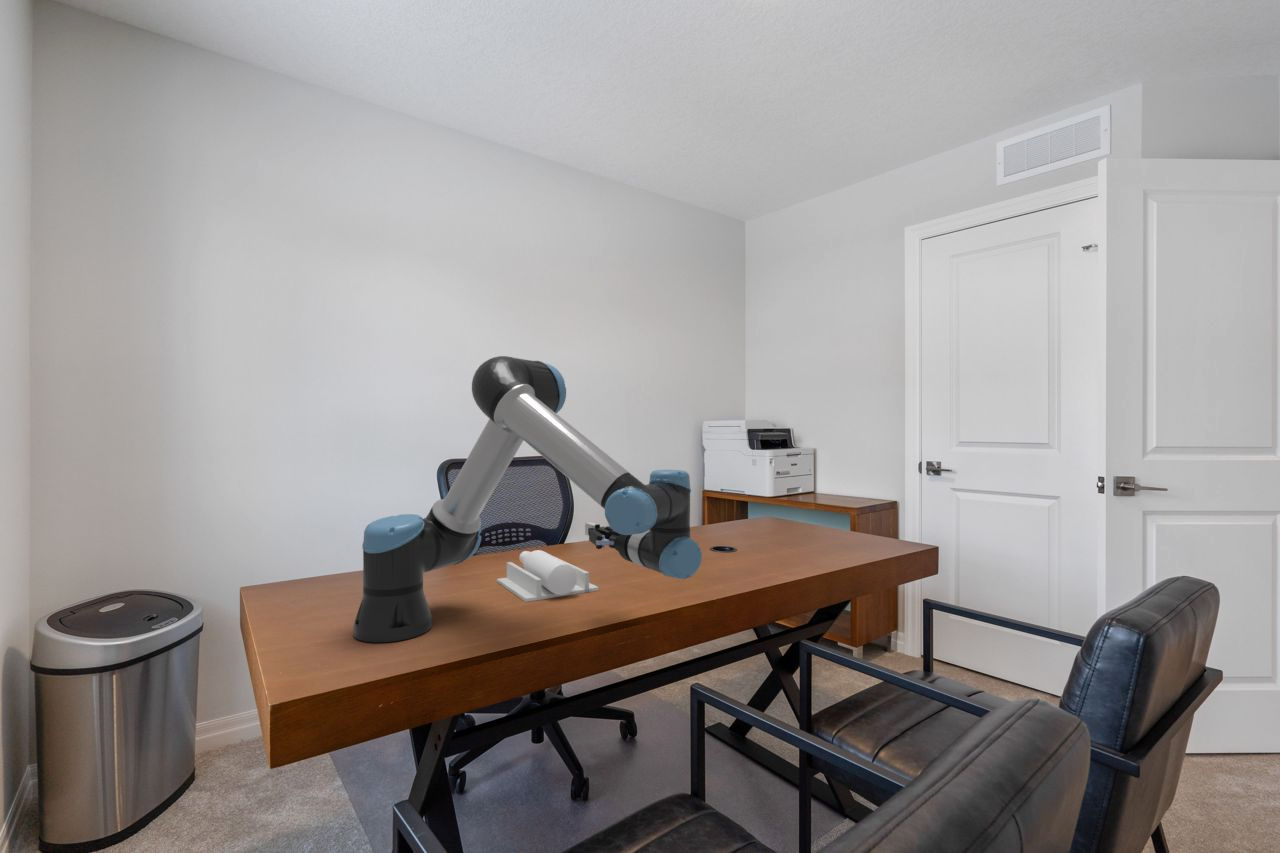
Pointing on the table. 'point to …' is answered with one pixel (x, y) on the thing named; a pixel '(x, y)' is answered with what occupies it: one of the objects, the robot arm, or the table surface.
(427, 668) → the table surface
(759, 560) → the table surface
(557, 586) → the bottle
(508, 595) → the table surface
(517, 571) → the u rest
